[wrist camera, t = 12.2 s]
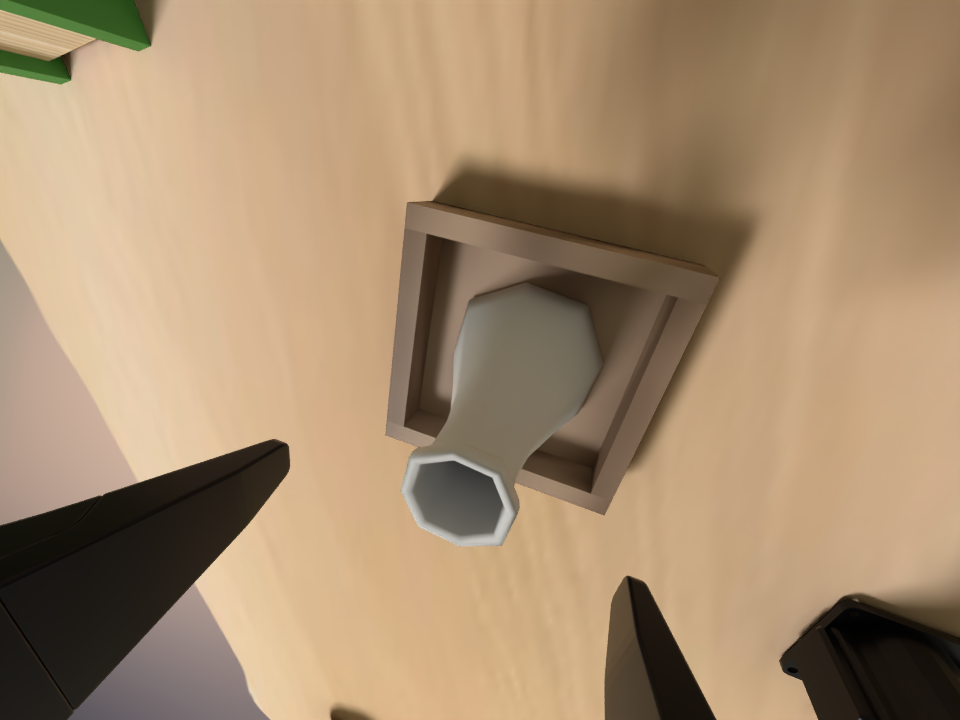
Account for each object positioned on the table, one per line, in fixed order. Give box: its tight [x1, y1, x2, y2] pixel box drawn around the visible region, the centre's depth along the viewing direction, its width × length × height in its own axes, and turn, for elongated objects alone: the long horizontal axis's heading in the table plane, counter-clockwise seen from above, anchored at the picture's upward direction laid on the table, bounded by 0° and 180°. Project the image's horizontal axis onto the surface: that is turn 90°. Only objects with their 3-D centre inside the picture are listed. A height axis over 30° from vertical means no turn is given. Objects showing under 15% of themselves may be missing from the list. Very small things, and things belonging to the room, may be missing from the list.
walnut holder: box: [385, 201, 720, 515], centre depth 18 cm, size 12×12×2 cm
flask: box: [401, 282, 603, 546], centre depth 14 cm, size 7×7×10 cm
